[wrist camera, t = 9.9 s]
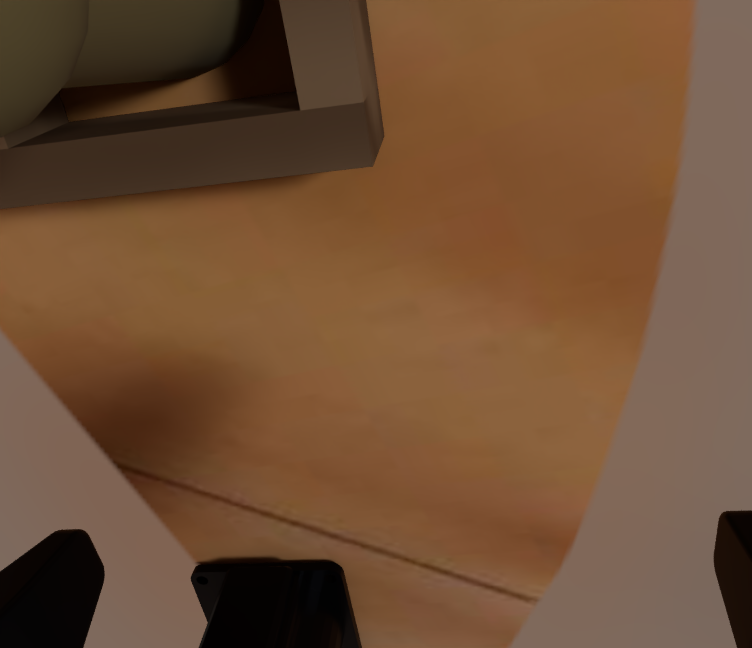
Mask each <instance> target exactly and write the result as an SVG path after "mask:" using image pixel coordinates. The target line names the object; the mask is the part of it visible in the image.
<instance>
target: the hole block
mask: <svg viewBox="0 0 752 648" xmlns="http://www.w3.org/2000/svg"><path fill="white" fill-rule="evenodd" d="M279 1H280V7H281V12H282V17H283V22H284V28H285V33H286V38H287V43H288V48H289V54H290V59H291V64H292V69H293V74H294V80H295V85H296V90H297V91H294V92H287V93H279V94H272V95H265V96H257V97H250V98H242V99H235V100H228V101H220V102H213V103H205V104H198V105H191V106H183V107H176V108H169V109H161V110H154V111H146V112H139V113H132V114H124V115H117V116H109V117H102V118H95V119H87V120H80V121H73V122H69V121H68V119H67V116H66V113H65V110H64V107H63V105H62V102H61V99H60V96H59V93H57V94H56V95H55V96H54V98H53V99H52V100H51V101H50V102H49V103H48V104H47V105H46V107H45V108H44V109H43V110H42V111H41V112H40V113H39V115H38V116H37V117H36V118H35V119H34V120H33V121H32V122H31V124H29V125H27V126H25V127H23V128H21V129H18V130H16V131H14V132H12V133H10V134H7V135H5V136H3V137H1V138H0V209H5V208H14V207H23V206H31V205H40V204H49V203H58V202H66V201H75V200H84V199H92V198H101V197H110V196H119V195H127V194H136V193H145V192H154V191H162V190H171V189H180V188H189V187H197V186H206V185H215V184H223V183H232V182H241V181H250V180H258V179H267V178H276V177H285V176H293V175H302V174H311V173H319V172H328V171H337V170H346V169H354V168H363V167H372V166H373V165H374V162H375V160H376V157H377V154H378V152H379V149H380V146H381V144H382V141H383V138H384V130H383V123H382V115H381V108H380V101H379V93H378V86H377V79H376V71H375V64H374V56H373V49H372V42H371V34H370V27H369V20H368V12H367V5H366V0H279Z"/></svg>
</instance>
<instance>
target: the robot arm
mask: <svg viewBox="0 0 752 648" xmlns="http://www.w3.org/2000/svg"><path fill="white" fill-rule="evenodd" d="M714 567H715V572H716V576H717V580H718V583H719V586H720V590H721V594H722V597H723V601H724V604H725V607H726V611H727V614H728V618H729V621H730V625H731V628H732V632H733V635H734V638H735V642H736V645H737V648H752V511H726V512H723V513H722V514H721V515H720V518H719V521H718V528H717V535H716V542H715V550H714ZM329 574H330V575H329ZM104 576H105V574H104V566H103V563H102V561H101V559H100V557H99V555H98V553H97V551H96V549H95V547H94V545H93V543H92V541H91V539H90V537H89V535H88V534H87V533H86V532H85V531H84V530H81V529H72V530H58V531H55V532H54V533H52V534H51V535H49V536H48V537H47V538H45V539H44V540H42V541H41V542H40V543H38V544H37V545H36V546H34V547H33V548H32V549H30V550H29V551H28V552H26V553H25V554H24V555H22V556H21V557H19V558H18V559H17V560H15V561H14V562H13V563H11V564H10V565H9V566H7V567H6V568H4V569H3V570H2V571H0V648H83V647H84V644H85V640H86V637H87V634H88V631H89V628H90V625H91V621H92V618H93V615H94V612H95V609H96V605H97V602H98V599H99V596H100V593H101V589H102V586H103V583H104ZM191 582H192V584H193V587H194V589H195V592H196V594H197V597H198V599H199V602H200V604H201V607H202V609H203V612H204V614H205V617H206V619H207V622H208V624H207V627H206V629H205V632H204V635H203V638H202V641H201V643H200V646H199V648H362V646H361V642H360V637H359V633H358V629H357V625H356V621H355V616H354V612H353V608H352V604H351V600H350V595H349V591H348V587H347V583H346V579H345V575H344V570H343V569H342V567H341V566H340V565H338V564H336V563H332V562H315V563H260V564H205V565H198V566H196V567H195V569H194V571H193V573H192V576H191Z"/></svg>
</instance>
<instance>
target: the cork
mask: <svg viewBox="0 0 752 648" xmlns="http://www.w3.org/2000/svg"><path fill="white" fill-rule="evenodd" d="M263 5H264V0H0V138H1V137H3V136H5V135H7V134H10V133H12V132H14V131H16V130H18V129H21V128H23V127H25V126H27V125H29V124H31V122H32V121H33V120H34V119H35V118H36V117H37V116H38V115H39V113H40V112H41V111H42V110H43V109H44V108H45V107H46V105H47V104H48V103H49V102H50V101H51V100H52V99H53V98H54V96H55V95H56V94H57V93H58V92H59V91H60V90H61V88H70V87H83V86H95V85H108V84H120V83H133V82H146V81H158V80H171V79H183V78H194V77H196V76H199V75H201V74H203V73H205V72H208V71H210V70H212V69H214V68H217V67H219V66H221V65H223V64H224V63H225V62H226V61H227V60H228V59H229V58H230V57H231V56H232V55H233V54H234V53H235V52H236V51H237V50H238V49H239V48H240V47H241V46H242V45H243V44H244V43H245V42H246V41H247V40H248V38H249V36H250V34H251V32H252V30H253V28H254V26H255V23H256V21H257V19H258V17H259V15H260V13H261V11H262V9H263Z"/></svg>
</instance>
